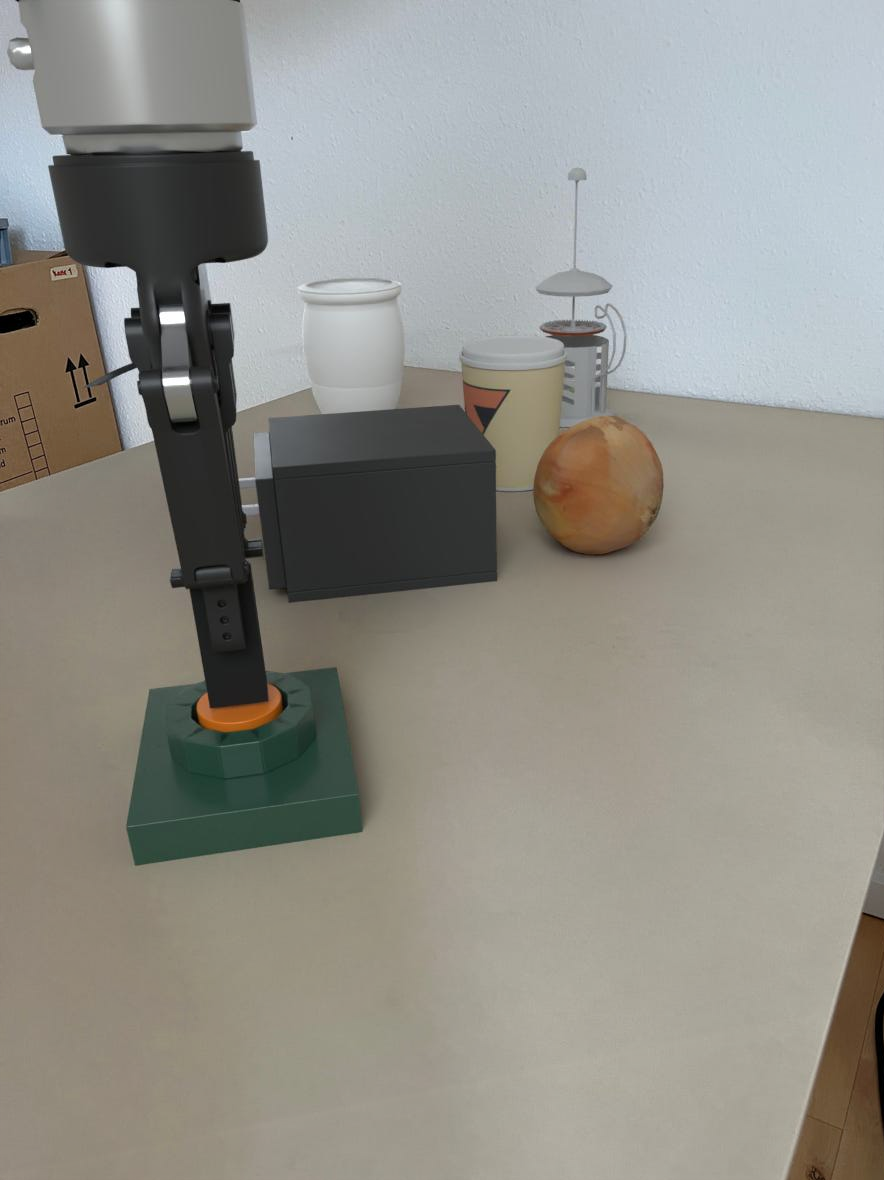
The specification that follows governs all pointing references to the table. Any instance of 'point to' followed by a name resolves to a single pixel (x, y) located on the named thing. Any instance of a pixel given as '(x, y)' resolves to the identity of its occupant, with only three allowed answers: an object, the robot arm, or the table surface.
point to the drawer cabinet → (384, 501)
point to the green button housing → (243, 774)
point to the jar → (353, 343)
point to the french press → (581, 338)
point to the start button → (240, 713)
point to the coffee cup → (514, 400)
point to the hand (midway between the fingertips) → (239, 696)
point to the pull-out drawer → (266, 509)
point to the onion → (598, 485)
